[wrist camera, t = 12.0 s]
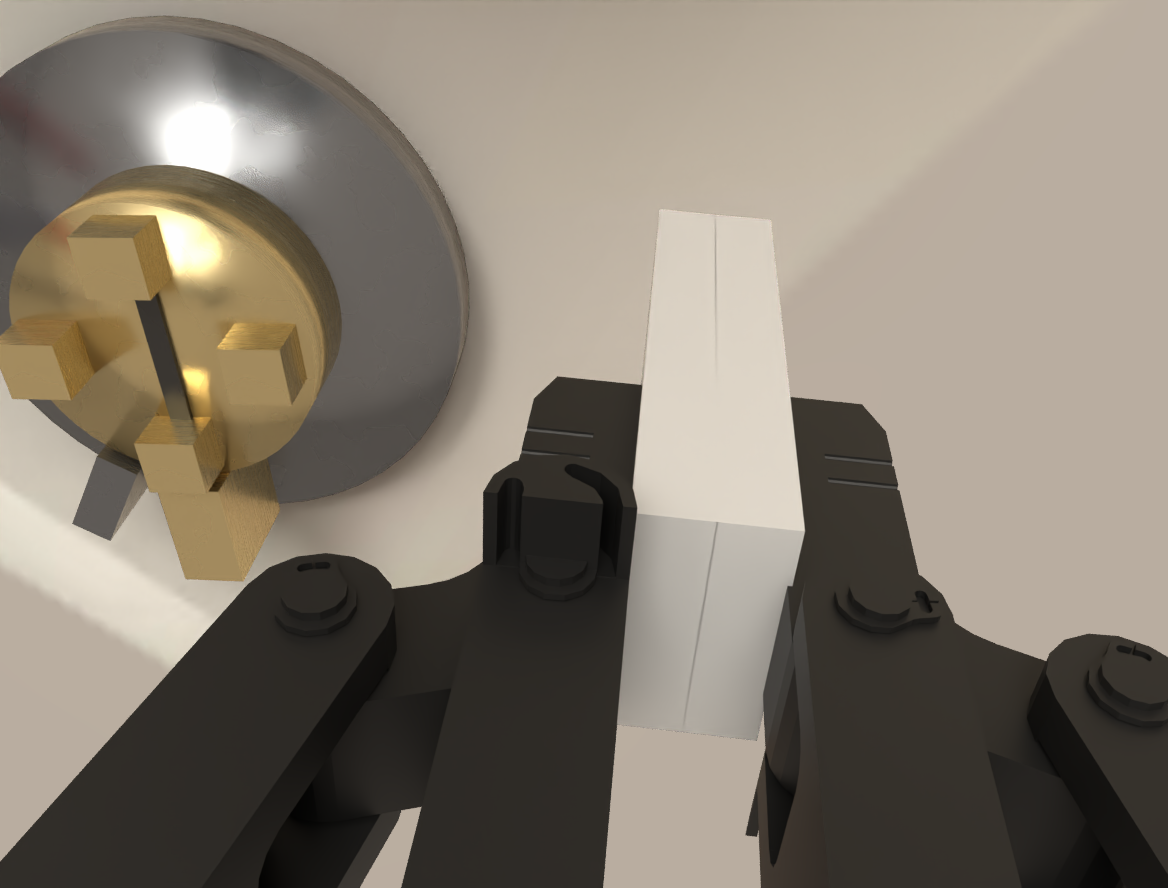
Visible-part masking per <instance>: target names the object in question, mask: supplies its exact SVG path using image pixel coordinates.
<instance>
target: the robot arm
mask: <svg viewBox="0 0 1168 888" xmlns="http://www.w3.org/2000/svg"><path fill="white" fill-rule="evenodd" d="M897 487H898V482H897V478H896V474H895V469H894V466H892V457H891V452H890V448H889V443H888V439H887V435H886V431H885V430H884V429H883V428H882V427H881V426H880V424H879V423H877V421H876V420H875V419H874V418H873V417H872V415H871V414H870V413H869V412H868V411H867V410H866V409H865V408H864V406H863V405H862V404H852V403H843V402H833V401H824V400H814V399H804V398H794V397H790V390H789V380H788V371H787V362H786V353H785V345H784V335H783V326H782V317H781V307H780V298H779V289H778V280H777V271H776V262H775V252H774V243H773V234H772V225H771V220H769V219H759V218H748V217H738V216H727V215H716V214H706V213H695V212H685V211H674V210H664V209H660V212H659V221H658V231H657V240H656V249H655V259H654V268H653V278H652V287H651V296H650V306H649V315H648V325H647V334H646V343H645V353H644V362H643V371H642V381H641V385H636V384H626V383H616V382H606V381H597V380H587V379H577V378H567V377H557V378H555V379H554V380H553V381H552V382H551V383H550V384H549V385H548V386H547V387H546V388H545V389H544V390H543V391H542V392H541V393H540V394H538V395H537V396H536V397H535V398H534V401H533V405H532V409H531V413H530V417H529V421H528V425H527V432H526V434H525V438H524V442H523V446H522V453H521V454H520V458H519V461H515V462H513V463H511V464H510V465H508V466H507V467H505V468H504V469H502V470H500V471H499V472H497V473H496V474H494V475H493V477H492V479H491V480H490V482H489V483H488V485H487V487H486V488H485V490H484V492H483V562H482V563H480V564H479V565H477V566H476V567H475V568H473V569H472V570H470V571H469V572H467V573H464V574H462V575H459V576H457V577H455V578H452V579H450V580H446V581H442V582H437V583H432V584H428V585H421V586H413V587H405V588H397V589H392V588H391V584H390V583H389V582H388V581H387V579H386V578H385V577H384V576H383V575H382V574H381V572H380V571H379V570H378V569H377V568H376V567H374V566H372V565H369V564H367V563H365V562H363V561H361V560H359V559H357V558H355V557H350V556H342V555H335V554H328V553H324V554H316V555H308V556H299V557H295V558H292V559H290V560H287V561H285V562H282V563H280V564H277V565H275V566H272V567H269V568H268V569H267V570H266V571H264V572H263V573H262V574H260V575H259V576H258V577H257V578H255V579H254V580H253V581H252V582H250V583H249V584H248V585H247V586H246V587H245V588H244V589H243V590H242V592H241V593H240V594H239V595H238V596H237V597H236V598H235V599H234V601H233V602H232V603H231V604H230V605H229V606H228V607H227V608H226V610H225V611H224V612H223V613H222V614H221V615H220V616H219V617H218V618H217V620H216V621H215V622H214V623H213V624H212V625H211V626H210V627H209V629H208V630H207V631H206V632H205V633H204V634H203V635H202V636H201V637H200V639H199V640H198V641H197V642H196V643H195V644H194V645H193V646H192V648H191V649H190V650H189V651H188V652H187V653H186V654H185V655H184V657H183V658H182V659H181V660H180V661H179V662H178V663H177V664H176V665H175V667H174V668H173V669H172V670H171V671H170V672H169V673H168V674H167V676H166V677H165V678H164V679H163V680H162V681H161V682H160V683H159V685H158V686H157V687H156V688H155V689H154V690H153V691H152V692H151V694H150V695H149V696H148V697H147V698H146V699H145V700H144V701H143V702H142V704H141V705H140V706H139V707H138V708H137V709H136V710H135V711H134V713H133V714H132V715H131V716H130V717H129V718H128V719H127V720H126V722H125V723H124V724H123V725H122V726H121V727H120V728H119V729H118V730H117V732H116V733H115V734H114V735H113V736H112V737H111V738H110V740H109V741H108V742H107V743H106V744H105V745H104V746H103V747H102V748H101V749H100V751H99V752H98V753H97V754H96V755H95V756H94V757H93V758H92V760H91V761H90V762H89V763H88V764H87V765H86V766H85V767H84V769H83V770H82V771H81V772H80V773H79V774H78V775H77V776H76V777H75V779H74V780H73V781H72V782H71V783H70V784H69V785H68V786H67V788H66V789H65V790H64V791H63V792H62V793H61V794H60V795H59V796H58V798H57V799H56V800H55V801H54V802H53V803H52V804H51V805H50V807H49V808H48V809H47V810H46V811H45V812H44V813H43V814H42V816H41V817H40V818H39V819H38V820H37V821H36V822H35V823H34V824H33V826H32V827H31V828H30V829H29V830H28V831H27V832H26V833H25V835H24V836H23V837H22V838H21V839H20V840H19V841H18V842H17V843H16V845H15V846H14V847H13V848H12V849H11V850H10V851H9V852H8V854H7V855H6V856H5V857H4V858H3V859H2V860H1V861H0V888H360V886H361V884H362V883H363V881H364V879H365V877H366V875H367V874H368V872H369V870H370V869H371V867H372V865H373V863H374V862H375V860H376V858H377V856H378V855H379V853H380V851H381V849H382V848H383V846H384V844H385V842H386V841H387V839H388V837H389V835H390V834H391V832H392V830H393V828H394V827H395V825H396V823H397V821H398V819H399V816H400V813H401V810H405V809H411V808H417V807H422V808H421V812H420V816H419V819H418V824H417V827H416V831H415V835H414V839H413V843H412V847H411V851H410V855H409V859H408V863H407V867H406V871H405V875H404V879H403V883H402V887H401V888H603V881H604V869H605V858H606V846H607V835H608V834H607V833H608V823H609V812H610V800H611V788H612V777H613V765H614V753H615V742H616V730H617V725H625V726H634V727H642V728H652V729H660V730H668V731H677V732H686V733H694V734H703V735H712V736H720V737H730V738H738V739H746V740H756V741H757V738H758V733H759V729H760V724H761V720H762V716H763V712H764V725H765V744H766V745H765V746H766V749H765V753H764V758H763V762H762V766H761V770H760V774H759V779H758V783H757V787H756V791H755V795H754V799H753V803H752V808H751V812H750V816H749V821H748V826H747V831H746V835H747V836H756V837H757V834H758V830H759V849H760V875H761V888H1168V657H1166V656H1165V655H1163V654H1161V653H1160V652H1158V651H1156V650H1154V649H1153V648H1151V647H1149V646H1146V645H1143V644H1140V643H1137V642H1134V641H1131V640H1128V639H1125V638H1122V637H1119V636H1110V635H1097V634H1086V635H1082V636H1078V637H1074V638H1070V639H1066V640H1064V641H1063V642H1062V643H1061V644H1059V645H1058V646H1057V647H1056V648H1055V649H1054V650H1053V651H1052V652H1051V653H1050V654H1049V656H1048V659H1047V661H1044V660H1041V659H1038V658H1035V657H1032V656H1029V655H1027V654H1023V653H1021V652H1018V651H1014V650H1012V649H1009V648H1006V647H1003V646H1000V645H997V644H995V643H993V642H990V641H988V640H986V639H983V638H981V637H979V636H976V635H974V634H972V633H970V632H969V631H967V630H965V629H964V628H962V627H961V626H959V625H958V624H956V623H955V622H954V618H953V614H952V612H951V610H950V609H949V607H948V605H947V603H946V601H945V599H944V597H943V595H942V594H941V593H940V592H939V591H938V590H937V589H936V588H934V587H933V586H932V585H931V584H930V583H929V582H928V581H927V580H926V579H924V578H923V577H922V576H920V575H919V574H918V569H917V565H916V561H915V556H914V553H913V548H912V543H911V539H910V535H909V530H908V526H907V521H906V518H905V513H904V508H903V505H902V500H901V495H900V491H899V490H897Z"/></svg>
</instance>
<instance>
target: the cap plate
mask: <svg viewBox="0 0 1168 888" xmlns="http://www.w3.org/2000/svg"><path fill="white" fill-rule="evenodd" d="M152 165H176V166H186V167H192V168H197V169H202V170H206V171H209V172H212V173H215V174H218V175H222V176H225V177H227V178H229V179H231V180H234V181H236V182H238V183H240V184H243V185H244V186H246V187H248V188H250V189H251V190H253V191H255V192H257V193H258V194H260V195H262V196H263V197H264V198H266V199H267V200H269V201H270V202H271V203H273V204H274V205H275V206H277V207H278V208H279V209H281V210H282V211H283V212H284V213H285V214H286V215H287V216H288V217H289V218H290V219H291V220H293V221H294V222H295V223H296V224H297V226H298V227H299V228H300V229H301V230H302V231H303V232H304V233H305V235H306V236H307V237H308V238H309V239H310V241H311V242H312V244H313V245H314V247H315V248H316V249H317V251H318V252H319V254H320V255H321V257H322V259H323V261H324V263H325V265H326V266H327V268H328V270H329V272H330V275H331V277H332V280H333V282H334V285H335V288H336V291H337V295H338V299H339V303H340V309H341V318H342V333H341V342H340V347H339V352H338V356H337V358H336V361H335V364H334V366H333V368H332V370H331V372H330V374H329V376H328V378H327V379H326V381H325V383H324V385H323V387H322V389H321V391H320V392H319V394H318V396H317V398H316V400H315V402H314V403H313V405H312V407H311V409H310V411H309V413H308V414H307V416H306V418H305V420H304V421H303V423H302V425H301V427H300V428H299V430H298V431H297V432H296V434H295V435H294V436H293V437H292V438H291V440H290V441H289V442H288V443H287V444H285V445H284V446H283V447H282V448H281V449H280V450H278V451H277V452H276V453H274V454H272V455H271V456H269V457H267V458H268V462H269V466H270V470H271V474H272V478H273V482H274V487H275V491H276V495H277V499H278V503H279V504H282V503H291V502H300V501H308V500H312V499H316V498H321V497H325V496H329V495H333V494H336V493H339V492H342V491H344V490H347V489H350V488H352V487H355V486H358V485H360V484H362V483H364V482H365V481H367V480H369V479H371V478H373V477H375V476H377V475H378V474H380V473H382V472H383V471H385V470H386V469H387V468H389V467H390V466H391V465H393V464H394V463H395V462H397V461H398V460H399V459H401V458H402V457H403V456H404V455H405V454H406V453H407V452H408V451H409V450H410V449H411V448H412V447H413V446H414V445H415V444H416V443H417V442H418V441H419V440H420V439H421V438H422V436H423V435H424V433H425V432H426V431H427V429H428V428H429V426H430V425H431V424H432V422H433V421H434V419H435V418H436V416H437V414H438V412H439V410H440V408H441V406H442V404H443V402H444V400H445V398H446V396H447V394H448V391H449V388H450V385H451V383H452V380H453V377H454V375H455V372H456V369H457V366H458V363H459V360H460V356H461V353H462V350H463V346H464V343H465V338H466V331H467V324H468V317H469V284H468V277H467V270H466V264H465V257H464V252H463V249H462V245H461V242H460V238H459V235H458V232H457V228H456V225H455V222H454V220H453V217H452V215H451V213H450V210H449V208H448V206H447V204H446V201H445V199H444V197H443V194H442V192H441V190H440V189H439V187H438V185H437V184H436V182H435V180H434V178H433V177H432V175H431V173H430V172H429V170H428V168H427V167H426V165H425V163H424V162H423V160H422V159H421V157H420V156H419V155H418V154H417V152H416V151H415V150H414V148H413V147H412V146H411V144H410V143H409V142H408V140H407V139H406V138H405V137H404V135H403V134H402V133H401V131H400V130H399V129H398V128H397V127H396V126H395V125H394V124H393V123H392V122H391V121H390V120H389V119H388V118H387V117H386V116H385V115H384V114H383V113H382V112H381V111H380V110H379V109H378V107H377V106H376V105H375V104H374V103H372V102H371V101H370V100H369V99H367V98H366V97H365V96H364V95H363V94H361V93H360V92H359V91H358V90H357V89H355V88H354V87H353V86H352V85H351V84H349V83H348V82H347V81H346V80H344V79H343V78H342V77H340V76H338V75H337V74H335V73H334V72H332V71H331V70H329V69H328V68H326V67H325V66H323V65H322V64H320V63H318V62H317V61H315V60H314V59H312V58H311V57H309V56H307V55H305V54H303V53H301V52H299V51H297V50H295V49H293V48H291V47H289V46H286V45H284V44H282V43H280V42H278V41H276V40H274V39H271V38H268V37H265V36H263V35H260V34H257V33H254V32H251V31H249V30H246V29H243V28H240V27H236V26H232V25H227V24H223V23H218V22H214V21H209V20H204V19H197V18H185V17H173V16H153V17H135V18H126V19H122V20H117V21H112V22H107V23H103V24H98V25H95V26H92V27H89V28H87V29H84V30H82V31H79V32H77V33H74V34H71V35H69V36H66V37H64V38H63V39H61V40H59V41H57V42H55V43H54V44H52V45H50V46H48V47H47V48H45V49H43V50H41V51H39V52H38V53H36V54H34V55H33V56H31V57H29V58H28V59H26V60H24V61H23V62H21V63H19V64H18V65H16V66H15V67H13V68H11V69H10V70H9V71H7V72H6V73H5V74H4V75H3V76H2V77H1V78H0V336H1V335H2V334H3V333H4V332H5V331H6V330H7V329H8V328H9V327H11V326H12V324H11V318H10V312H9V292H10V286H11V279H12V275H13V272H14V269H15V266H16V263H17V261H18V259H19V257H20V255H21V254H22V252H23V250H24V248H25V247H26V246H27V244H28V243H29V242H30V241H31V240H32V238H33V237H34V236H35V235H36V234H37V233H38V232H39V231H41V230H42V229H43V228H44V227H45V226H47V225H48V224H49V223H50V222H51V221H53V220H54V219H55V218H56V217H57V216H59V215H60V214H61V213H62V212H63V211H65V210H66V209H67V208H68V207H69V206H71V205H72V204H73V203H74V202H75V201H77V200H78V199H79V198H80V197H82V196H83V195H84V194H85V193H86V192H88V191H89V190H90V189H91V188H92V187H94V186H95V185H96V184H97V183H99V182H101V181H103V180H104V179H106V178H108V177H110V176H112V175H114V174H117V173H120V172H122V171H125V170H128V169H133V168H138V167H142V166H152ZM29 400H30V401H31V402H32V403H33V404H34V405H35V406H36V407H37V408H38V409H39V410H40V411H42V412H43V413H44V414H45V415H46V416H47V417H48V418H49V419H50V420H51V421H52V422H54V423H55V424H56V425H58V426H59V427H60V428H61V429H63V430H64V431H65V432H67V433H68V434H69V435H70V436H72V437H73V438H74V439H76V440H77V441H78V442H80V443H81V444H83V445H85V446H86V447H88V448H89V449H91V450H92V451H94V452H95V453H97V454H99V455H98V456H97V458H96V461H95V464H94V466H93V469H92V472H91V474H90V477H89V480H88V483H87V485H86V488H85V491H84V493H83V496H82V499H81V502H80V504H79V507H78V510H77V512H76V515H75V518H74V521H73V523H72V524H74V525H76V526H78V527H81V528H83V529H85V530H87V531H90V532H92V533H94V534H96V535H98V536H101V537H103V538H105V539H107V540H110V541H111V539H112V538H113V536H114V535H115V534H116V532H117V531H118V529H119V528H120V526H121V525H122V523H123V522H124V521H125V519H126V518H127V516H128V515H129V513H130V512H131V510H132V509H133V508H134V506H135V505H136V503H137V502H138V500H139V499H140V497H141V496H142V495H143V493H144V492H145V490H146V489H147V487H148V485H147V482H146V479H145V476H144V473H143V470H142V467H141V464H140V461H139V460H137V459H134V458H131V457H129V456H126V455H124V454H122V453H120V452H118V451H116V450H114V449H112V448H110V447H108V446H107V445H105V444H104V443H102V442H100V441H99V440H97V439H96V438H94V437H92V436H91V435H89V434H88V433H87V432H85V431H84V430H83V429H81V428H80V427H79V426H77V425H76V424H75V423H74V422H73V421H72V420H70V419H69V418H68V417H67V416H66V415H65V414H64V413H63V412H62V411H61V410H60V409H59V408H58V407H57V406H56V405H55V404H54V403H53V402H52V401H51V400H40V399H29Z"/></svg>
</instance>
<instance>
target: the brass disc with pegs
mask: <svg viewBox="0 0 1168 888" xmlns="http://www.w3.org/2000/svg"><path fill="white" fill-rule="evenodd" d="M9 312H10V318H11V324H12V326H11V327H9V328H8V329H7V330H6V331H5V332H4V333H3V334H2V335H1V336H0V369H1V371H2V374H3V376H4V379H5V381H6V384H7V387H8V389H9V392H10V394H11V397H12V399H40V400H51V401H52V402H53V403H54V404H55V405H56V406H57V407H58V408H59V409H60V410H61V411H62V412H63V413H64V414H65V415H66V416H67V417H68V418H69V419H70V420H72V421H73V422H74V423H75V424H76V425H77V426H79V427H80V428H81V429H83V430H84V431H85V432H87V433H88V434H89V435H91V436H92V437H94V438H96V439H97V440H99V441H100V442H102V443H104V444H105V445H107V446H108V447H110V448H112V449H114V450H116V451H118V452H120V453H122V454H124V455H126V456H129V457H131V458H134V459H137V460H139V461H140V464H141V467H142V470H143V473H144V476H145V479H146V482H147V485H148V488H149V491H150V492H158V494H159V497H160V501H161V504H162V507H163V510H164V513H165V516H166V519H167V522H168V525H169V529H170V532H171V535H172V538H173V541H174V544H175V547H176V550H177V553H178V557H179V560H180V563H181V566H182V569H183V572H184V575H185V578H186V579H198V580H222V581H244V579H245V577H246V575H247V573H248V571H249V569H250V567H251V566H252V564H253V562H254V560H255V558H256V556H257V554H258V552H259V550H260V548H261V546H262V544H263V542H264V540H265V538H266V536H267V534H268V533H269V531H270V529H271V527H272V525H273V523H274V521H275V519H276V517H277V515H278V513H279V511H280V507H279V503H278V499H277V495H276V491H275V487H274V482H273V478H272V474H271V470H270V466H269V462H268V458H267V457H269V456H271V455H272V454H274V453H276V452H277V451H278V450H280V449H281V448H282V447H283V446H284V445H285V444H287V443H288V442H289V441H290V440H291V438H292V437H293V436H294V435H295V434H296V432H297V431H298V430H299V428H300V427H301V425H302V423H303V421H304V420H305V418H306V416H307V414H308V413H309V411H310V409H311V407H312V405H313V403H314V402H315V400H316V398H317V396H318V394H319V392H320V391H321V389H322V387H323V385H324V383H325V381H326V379H327V378H328V376H329V374H330V372H331V370H332V368H333V366H334V364H335V361H336V358H337V356H338V352H339V347H340V342H341V333H342V318H341V309H340V303H339V299H338V295H337V291H336V288H335V285H334V282H333V280H332V277H331V275H330V272H329V270H328V268H327V266H326V265H325V263H324V261H323V259H322V257H321V255H320V254H319V252H318V251H317V249H316V248H315V247H314V245H313V244H312V242H311V241H310V239H309V238H308V237H307V236H306V235H305V233H304V232H303V231H302V230H301V229H300V228H299V227H298V226H297V224H296V223H295V222H294V221H293V220H291V219H290V218H289V217H288V216H287V215H286V214H285V213H284V212H283V211H282V210H281V209H279V208H278V207H277V206H275V205H274V204H273V203H271V202H270V201H269V200H267V199H266V198H264V197H263V196H262V195H260V194H258V193H257V192H255V191H253V190H251V189H250V188H248V187H246V186H244V185H243V184H240V183H238V182H236V181H234V180H231V179H229V178H227V177H225V176H222V175H218V174H215V173H212V172H209V171H206V170H202V169H197V168H192V167H186V166H176V165H152V166H142V167H138V168H133V169H128V170H125V171H122V172H120V173H117V174H114V175H112V176H110V177H108V178H106V179H104V180H103V181H101V182H99V183H97V184H96V185H95V186H94V187H92V188H91V189H90V190H89V191H88V192H86V193H85V194H84V195H83V196H82V197H80V198H79V199H78V200H77V201H75V202H74V203H73V204H72V205H71V206H69V207H68V208H67V209H66V210H65V211H63V212H62V213H61V214H60V215H59V216H57V217H56V218H55V219H54V220H53V221H51V222H50V223H49V224H48V225H47V226H45V227H44V228H43V229H42V230H41V231H39V232H38V233H37V234H36V235H35V236H34V237H33V238H32V240H31V241H30V242H29V243H28V244H27V246H26V247H25V248H24V250H23V252H22V254H21V255H20V257H19V259H18V261H17V263H16V266H15V269H14V272H13V275H12V279H11V286H10V292H9Z"/></svg>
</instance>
